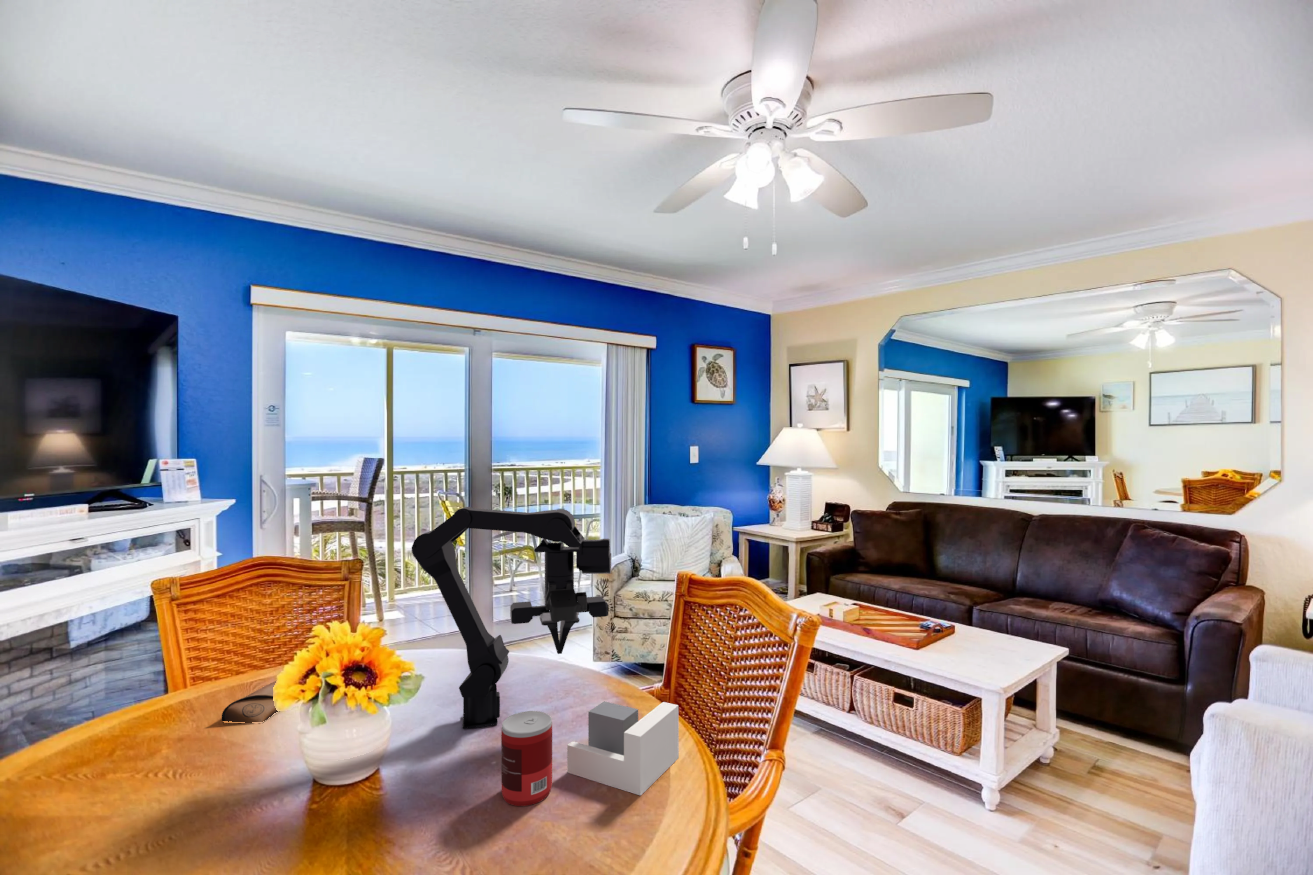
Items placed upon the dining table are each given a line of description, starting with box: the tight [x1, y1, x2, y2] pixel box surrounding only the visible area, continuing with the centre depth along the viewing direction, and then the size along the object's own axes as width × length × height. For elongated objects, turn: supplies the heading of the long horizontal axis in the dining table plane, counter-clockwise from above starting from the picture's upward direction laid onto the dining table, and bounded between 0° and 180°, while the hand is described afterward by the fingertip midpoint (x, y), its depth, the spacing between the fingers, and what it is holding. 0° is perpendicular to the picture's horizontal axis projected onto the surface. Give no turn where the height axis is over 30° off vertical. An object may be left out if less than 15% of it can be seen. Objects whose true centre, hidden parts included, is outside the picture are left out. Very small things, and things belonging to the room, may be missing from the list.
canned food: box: [500, 710, 553, 807], centre depth 95 cm, size 8×8×11 cm
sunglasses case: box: [221, 680, 279, 723], centre depth 127 cm, size 18×7×7 cm
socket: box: [566, 701, 680, 797], centre depth 103 cm, size 14×13×9 cm
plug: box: [587, 701, 639, 756], centre depth 103 cm, size 10×5×8 cm, turn 61°
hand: (559, 653), depth 120 cm, fingers closed
